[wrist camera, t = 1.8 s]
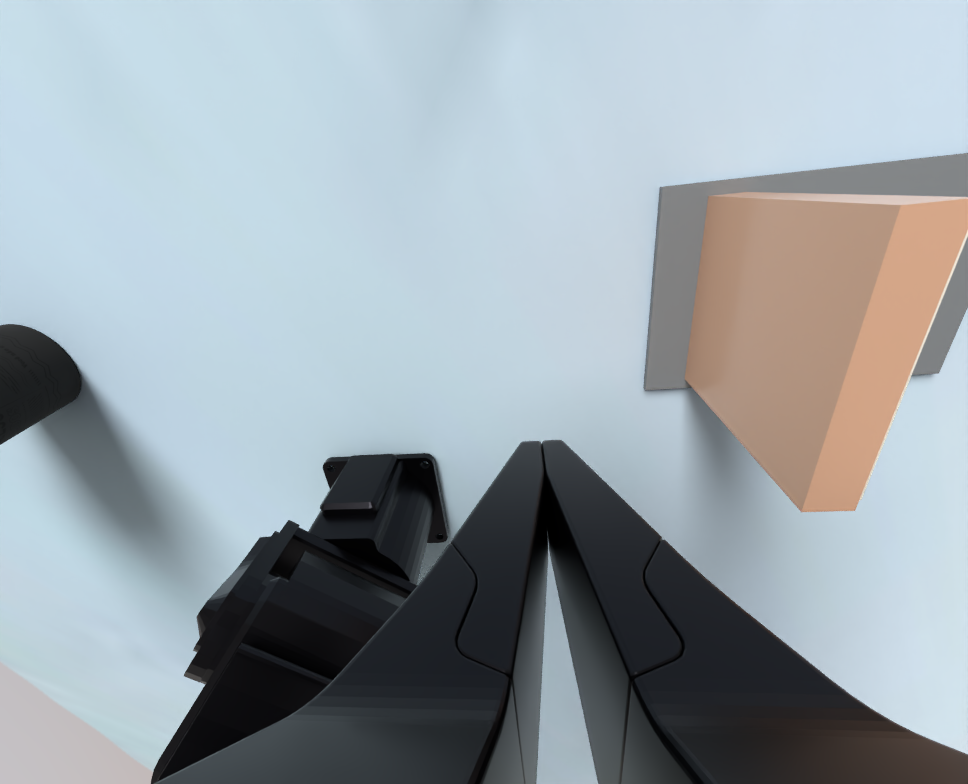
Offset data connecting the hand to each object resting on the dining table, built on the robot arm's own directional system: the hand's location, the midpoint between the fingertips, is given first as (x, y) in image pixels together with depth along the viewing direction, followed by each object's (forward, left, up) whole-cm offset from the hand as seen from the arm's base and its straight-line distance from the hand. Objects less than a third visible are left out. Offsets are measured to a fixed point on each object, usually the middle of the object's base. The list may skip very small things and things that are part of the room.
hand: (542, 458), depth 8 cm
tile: (0, -8, -11) cm, 14 cm away
